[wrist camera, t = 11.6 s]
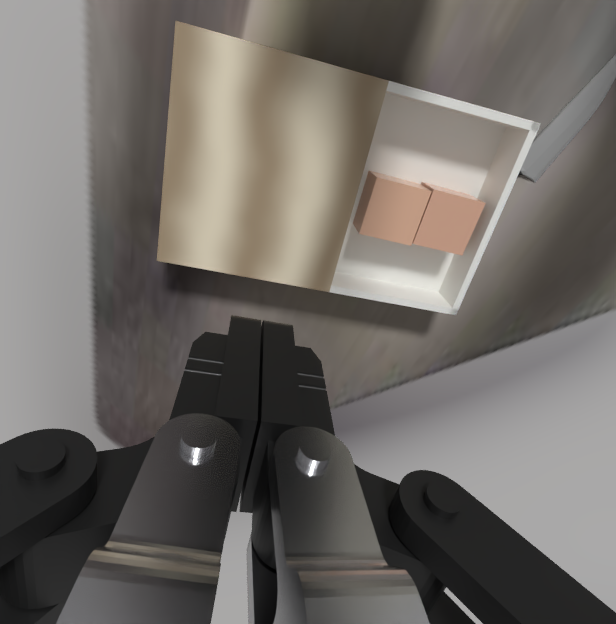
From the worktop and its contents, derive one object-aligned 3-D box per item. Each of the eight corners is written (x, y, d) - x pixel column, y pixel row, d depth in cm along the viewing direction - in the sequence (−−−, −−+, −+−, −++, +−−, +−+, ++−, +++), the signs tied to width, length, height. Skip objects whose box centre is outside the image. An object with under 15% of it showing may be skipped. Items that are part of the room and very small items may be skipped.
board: (375, 81, 32) (389, 80, 28) (323, 273, 39) (329, 292, 35) (186, 28, 30) (175, 20, 26) (167, 244, 37) (156, 260, 33)
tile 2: (433, 189, 33) (421, 181, 35) (412, 243, 34) (402, 232, 37) (485, 202, 33) (469, 194, 36) (462, 255, 35) (448, 243, 38)
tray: (512, 119, 34) (540, 123, 30) (439, 295, 41) (455, 315, 38) (375, 81, 32) (389, 80, 28) (323, 273, 39) (329, 292, 35)
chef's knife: (652, 58, 33) (635, 29, 32) (664, 58, 32) (647, 27, 31) (471, 243, 39) (450, 224, 38) (476, 248, 38) (456, 229, 37)
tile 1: (419, 183, 35) (431, 191, 33) (401, 234, 37) (411, 245, 35) (368, 170, 34) (377, 177, 32) (352, 223, 36) (359, 233, 34)
